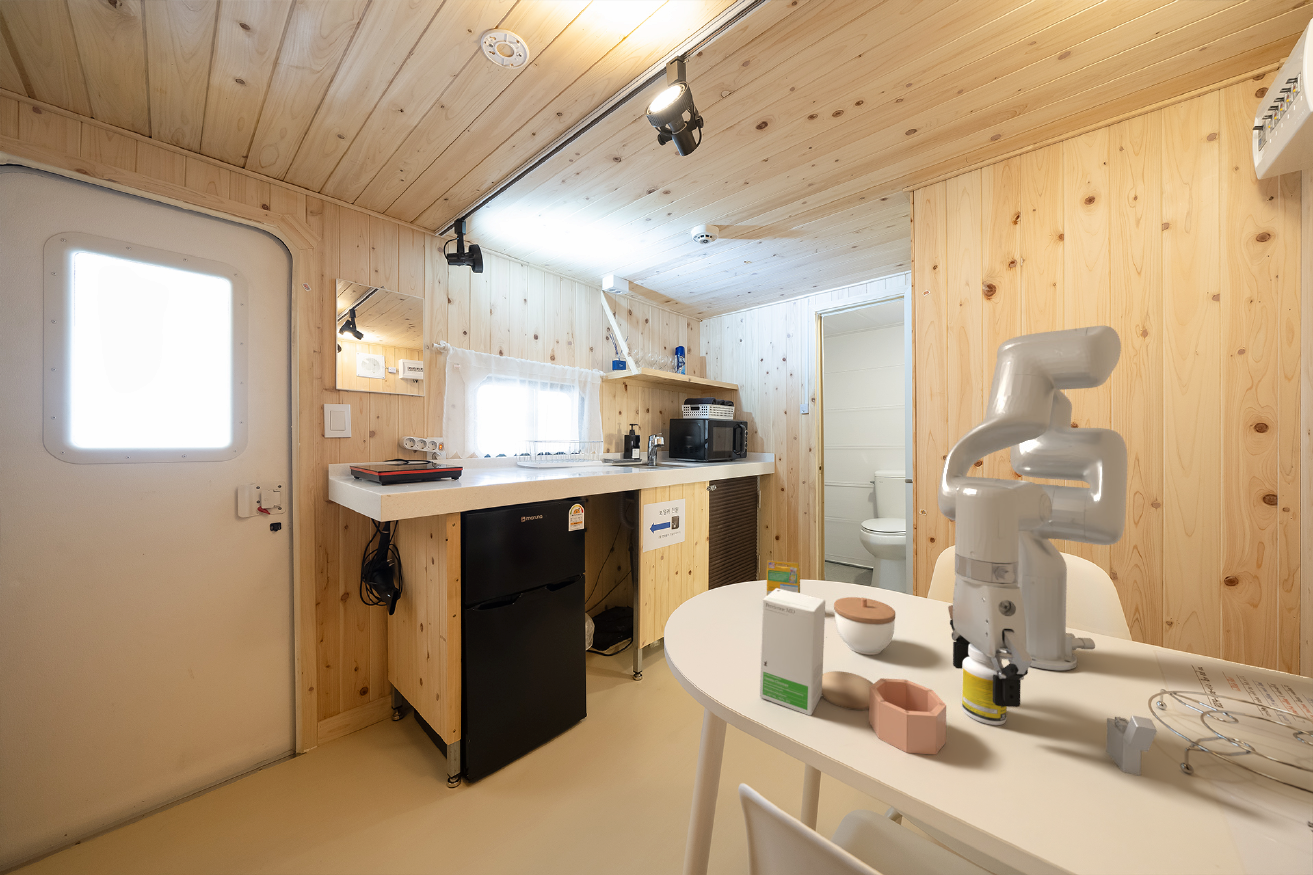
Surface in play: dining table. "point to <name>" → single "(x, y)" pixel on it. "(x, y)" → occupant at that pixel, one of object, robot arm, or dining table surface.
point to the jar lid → (846, 690)
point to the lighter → (1129, 741)
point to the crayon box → (783, 576)
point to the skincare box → (792, 650)
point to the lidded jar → (864, 624)
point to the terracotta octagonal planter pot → (907, 716)
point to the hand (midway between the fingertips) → (983, 685)
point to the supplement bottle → (980, 688)
